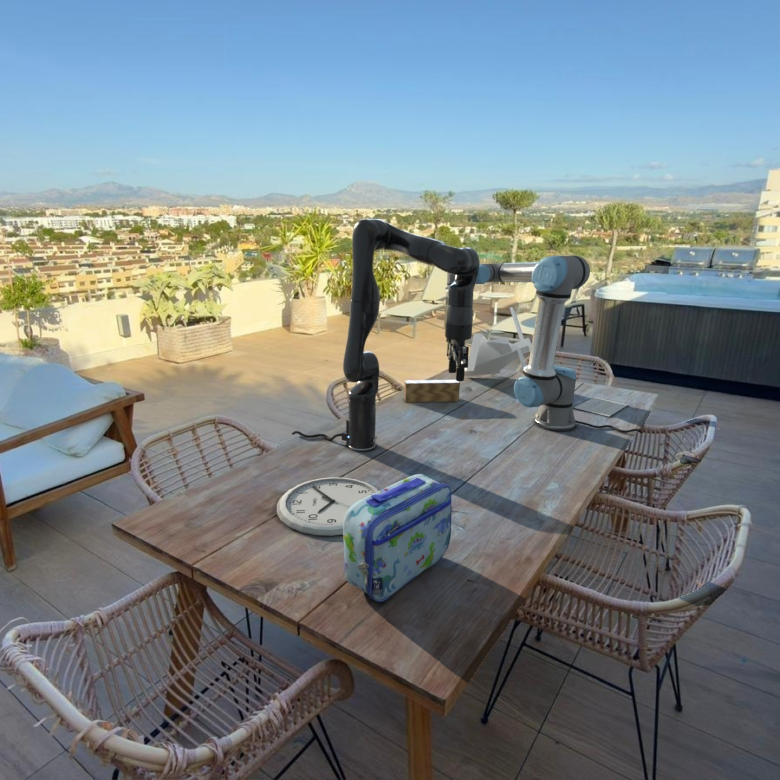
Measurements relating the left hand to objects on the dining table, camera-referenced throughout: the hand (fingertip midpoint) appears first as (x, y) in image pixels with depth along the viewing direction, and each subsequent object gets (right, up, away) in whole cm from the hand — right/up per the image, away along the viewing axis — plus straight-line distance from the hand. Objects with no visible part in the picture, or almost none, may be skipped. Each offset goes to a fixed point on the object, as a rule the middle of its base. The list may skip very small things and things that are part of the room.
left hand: (455, 376), depth 152 cm
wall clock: (-35, -35, -9) cm, 50 cm away
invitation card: (+72, -11, +75) cm, 104 cm away
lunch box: (-17, -44, -37) cm, 60 cm away
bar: (-1, -8, +80) cm, 80 cm away
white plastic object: (+34, -1, +106) cm, 111 cm away
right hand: (+8, +15, +73) cm, 75 cm away
